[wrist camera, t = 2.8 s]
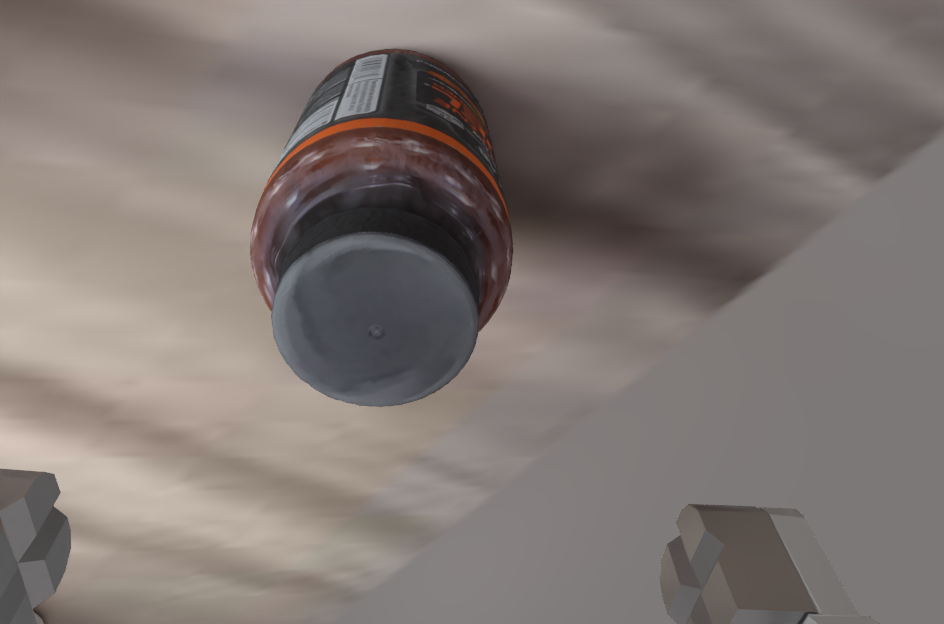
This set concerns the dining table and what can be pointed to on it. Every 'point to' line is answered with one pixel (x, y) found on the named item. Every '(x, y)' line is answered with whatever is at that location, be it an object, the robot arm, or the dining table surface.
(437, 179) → the supplement bottle
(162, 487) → the dining table surface
